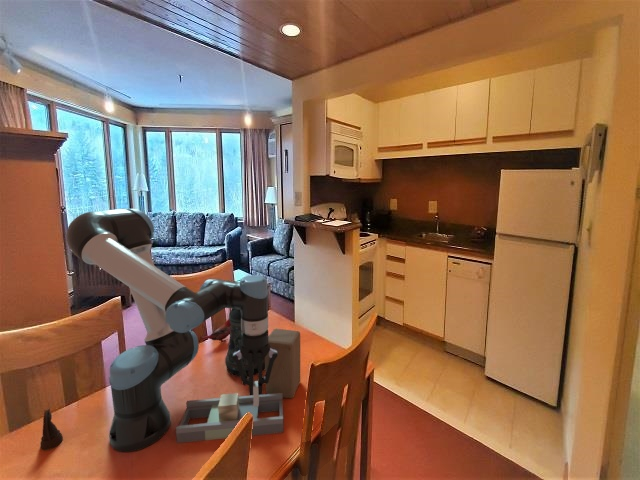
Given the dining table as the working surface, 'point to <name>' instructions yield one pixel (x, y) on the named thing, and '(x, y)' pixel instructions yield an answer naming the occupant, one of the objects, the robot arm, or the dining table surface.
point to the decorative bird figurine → (220, 332)
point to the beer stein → (237, 346)
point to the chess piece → (50, 433)
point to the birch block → (228, 407)
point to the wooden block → (284, 362)
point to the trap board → (224, 428)
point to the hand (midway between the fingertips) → (256, 403)
